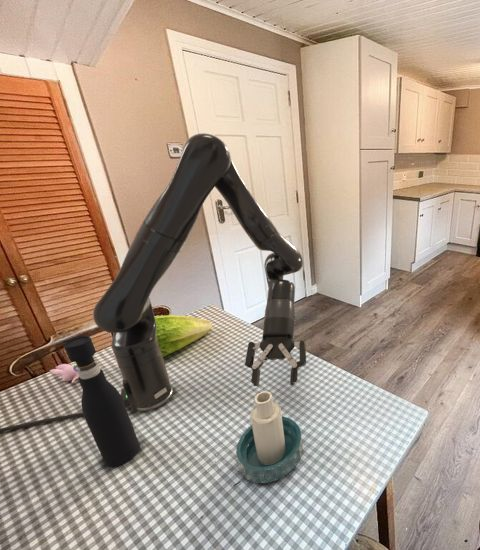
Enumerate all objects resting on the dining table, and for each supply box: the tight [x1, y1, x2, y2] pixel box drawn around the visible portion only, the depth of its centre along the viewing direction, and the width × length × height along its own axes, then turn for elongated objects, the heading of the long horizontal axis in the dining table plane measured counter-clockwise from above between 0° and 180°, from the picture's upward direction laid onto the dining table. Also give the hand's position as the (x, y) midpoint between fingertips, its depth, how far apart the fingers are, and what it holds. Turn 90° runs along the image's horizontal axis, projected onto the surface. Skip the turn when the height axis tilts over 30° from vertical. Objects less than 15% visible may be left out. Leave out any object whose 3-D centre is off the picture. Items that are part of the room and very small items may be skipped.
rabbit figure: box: [49, 363, 79, 384], centre depth 90 cm, size 6×6×15 cm
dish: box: [235, 416, 303, 484], centre depth 67 cm, size 14×14×4 cm
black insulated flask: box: [63, 335, 141, 468], centre depth 63 cm, size 6×6×30 cm
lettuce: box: [154, 314, 213, 358], centre depth 106 cm, size 14×23×14 cm
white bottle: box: [249, 391, 286, 465], centre depth 65 cm, size 6×6×16 cm
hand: (274, 385), depth 72 cm, fingers open, 8 cm apart
